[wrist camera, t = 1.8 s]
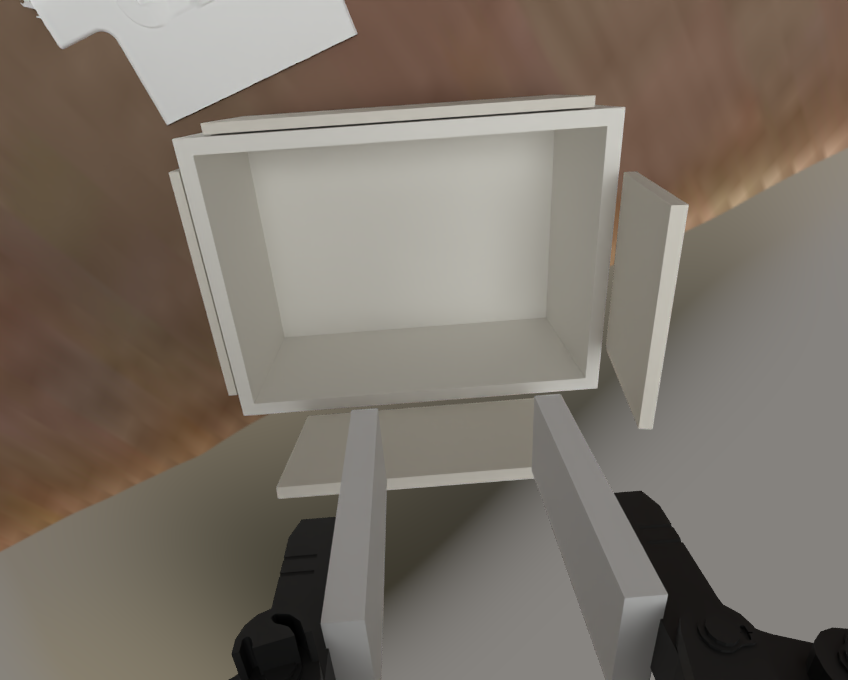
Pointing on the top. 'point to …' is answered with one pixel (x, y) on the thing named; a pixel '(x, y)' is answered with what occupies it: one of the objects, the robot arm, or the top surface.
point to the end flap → (644, 290)
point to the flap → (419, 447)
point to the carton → (404, 249)
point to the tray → (201, 41)
